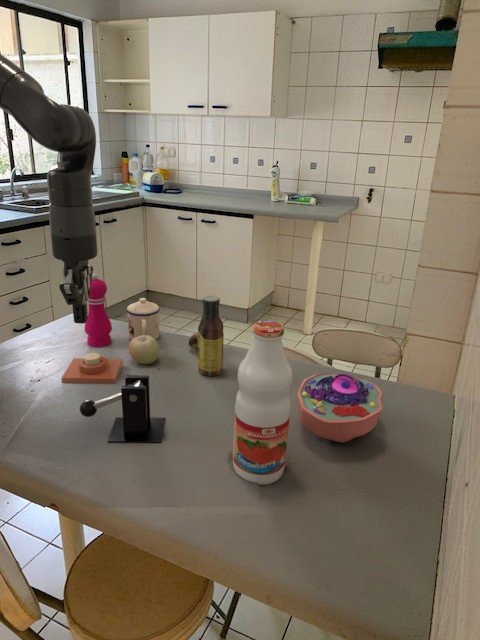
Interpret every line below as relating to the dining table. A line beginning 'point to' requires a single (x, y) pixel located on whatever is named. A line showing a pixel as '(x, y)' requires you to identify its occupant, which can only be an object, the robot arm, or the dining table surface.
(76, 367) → the tiered orange pedestal
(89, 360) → the button
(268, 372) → the fruit juice
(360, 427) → the cell model
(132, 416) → the bracket
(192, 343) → the mushroom
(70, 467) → the dining table surface
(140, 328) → the teacup with lid
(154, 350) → the fruit
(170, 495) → the dining table surface
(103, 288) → the pepper mill
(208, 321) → the sauce bottle
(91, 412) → the tap lever
